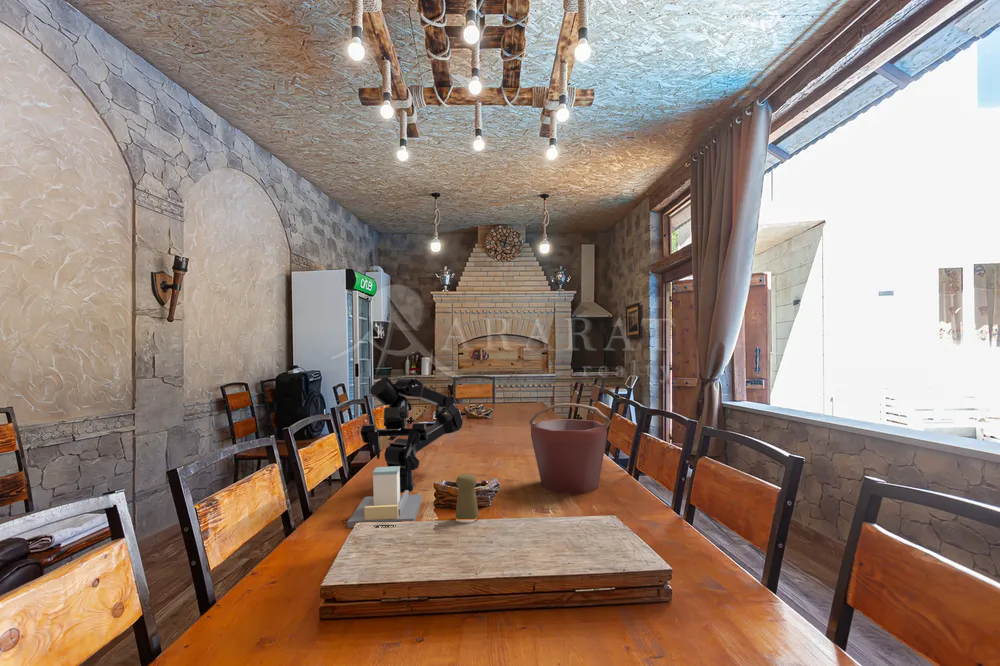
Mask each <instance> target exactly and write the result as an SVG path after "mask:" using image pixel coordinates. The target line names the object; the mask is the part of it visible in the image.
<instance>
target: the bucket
mask: <svg viewBox="0 0 1000 666" xmlns="http://www.w3.org/2000/svg"><path fill="white" fill-rule="evenodd" d="M558 407H560V408H561V407H574V408H580V409H585V410H588V411H593V412H594V413H595V414H596V416H598V417H599V418H600V419H603V420H604V423H601V422H600V421H598V420H589V419H588V420H587V419H575V418H561V419H550V420H541V421H540V420H539V421H538V422H535V420H536V419H537V417H538V416H539V415H541V414H543V413H545V412H547V411H549V410H553V409H555V408H558ZM528 421H529V425H530V438H531V443H532V446H533V450H534V456H535V460H536V464H537V469H538V470H537V471H538V473H539V474H538V475H539V478H540V483H541V488H543V489H545V490H548V491H550V492H553V493H555V494H585V493H589V492H591V491H593V490H595V489H598V488H599V485H600V479H601V474H602V467H603V462H604V457H605V450H606V449H605V448H606V442H607V437H608V433H607V432H608V428H609V426H610V425H611V423H612V420H611V418H610V417H608V416H607V415H605V414H604V413H603V412H602V411H600V409H599V408H597V407H595V406H590V405H585V404H580V403H556V404H553V405H550V406H547V407H546V408H544V409H542V410H540V411H538V412H536V413H535V414H534V415H533V416H532V417H531V419H530V420H528Z"/></svg>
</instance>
